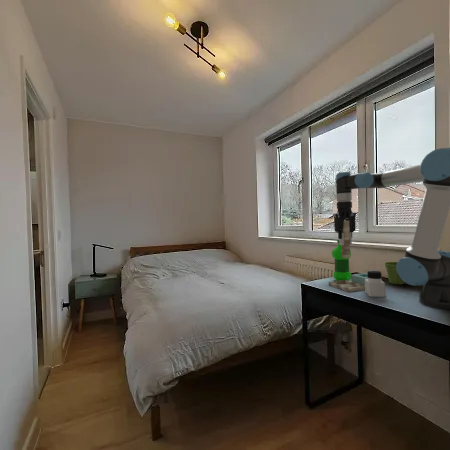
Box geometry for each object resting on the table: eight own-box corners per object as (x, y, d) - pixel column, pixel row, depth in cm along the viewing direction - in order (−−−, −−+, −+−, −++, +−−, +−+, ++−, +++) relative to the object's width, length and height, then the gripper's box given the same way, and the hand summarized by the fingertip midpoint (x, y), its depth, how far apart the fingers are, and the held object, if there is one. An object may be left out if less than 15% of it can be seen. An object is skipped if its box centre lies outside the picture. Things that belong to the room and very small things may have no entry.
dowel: (352, 257, 147) (351, 220, 146) (345, 258, 145) (344, 221, 144) (346, 256, 151) (345, 220, 150) (339, 257, 149) (338, 221, 149)
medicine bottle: (385, 297, 130) (385, 272, 129) (369, 297, 131) (368, 272, 131) (380, 293, 137) (379, 269, 136) (364, 293, 138) (364, 269, 138)
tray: (366, 290, 143) (366, 286, 142) (349, 293, 139) (349, 288, 139) (344, 283, 158) (344, 279, 158) (328, 285, 154) (328, 281, 154)
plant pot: (414, 285, 147) (414, 264, 146) (392, 286, 147) (391, 265, 146) (400, 280, 158) (400, 261, 158) (380, 281, 159) (379, 262, 158)
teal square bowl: (379, 287, 147) (379, 276, 146) (365, 289, 144) (365, 278, 144) (365, 283, 156) (365, 272, 156) (351, 285, 153) (351, 274, 153)
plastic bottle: (332, 283, 160) (330, 240, 159) (334, 278, 169) (333, 238, 168) (350, 284, 155) (349, 240, 154) (352, 280, 164) (351, 238, 163)
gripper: (352, 201, 153) (353, 242, 154) (326, 202, 148) (327, 245, 149) (362, 200, 146) (363, 243, 147) (335, 201, 141) (337, 246, 141)
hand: (345, 244), depth 148 cm, fingers closed on dowel, 4 cm apart
